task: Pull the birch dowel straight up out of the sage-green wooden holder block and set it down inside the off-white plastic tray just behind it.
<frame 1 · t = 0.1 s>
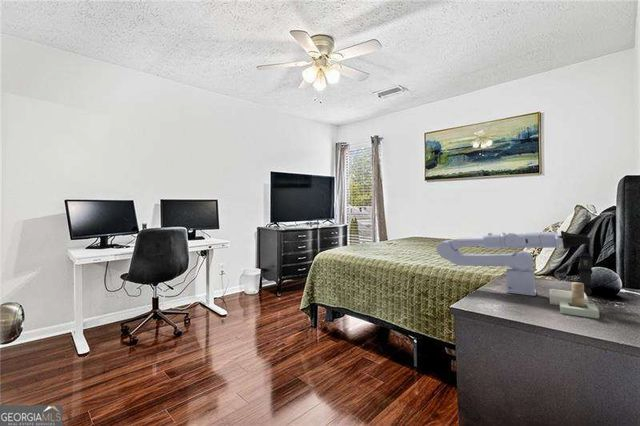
hand: (587, 239, 108), 22 cm above the nightstand, tool horizontal, fingers open, 7 cm apart
dowel: (577, 297, 97), in the holder
holder: (577, 311, 97), on the nightstand
magazine: (586, 291, 121), on the nightstand
tray: (567, 302, 107), on the nightstand
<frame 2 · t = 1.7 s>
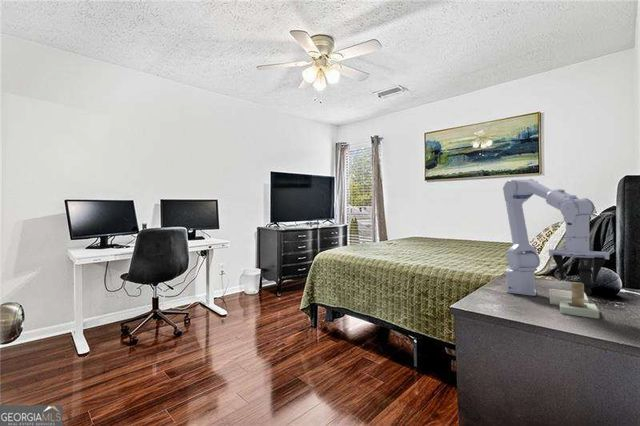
hand: (577, 280, 97), 10 cm above the nightstand, tool pointing down, fingers open, 7 cm apart
nothing on the nightstand moved.
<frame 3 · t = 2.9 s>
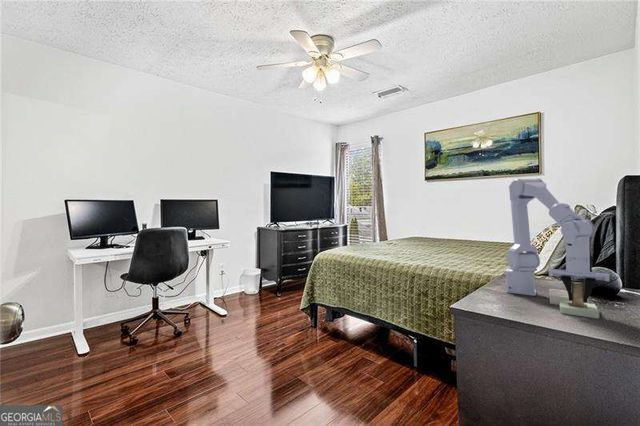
hand: (577, 300, 97), 3 cm above the nightstand, tool pointing down, fingers closed on dowel, 3 cm apart
dowel: (577, 297, 97), in the holder, touching gripper
everything else where it was.
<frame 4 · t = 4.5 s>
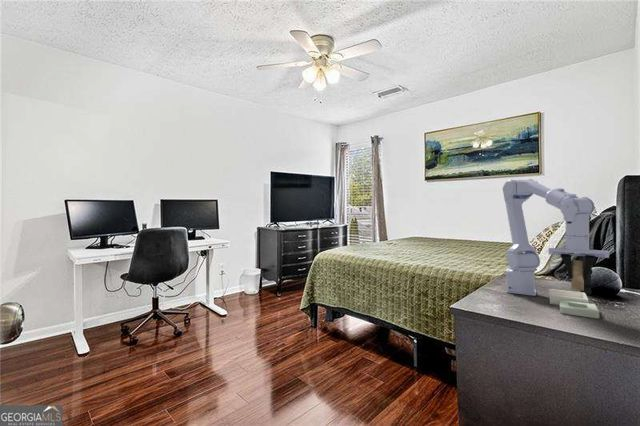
hand: (577, 278, 97), 10 cm above the nightstand, tool pointing down, fingers closed on dowel, 3 cm apart
dowel: (577, 275, 97), point 12 cm above the nightstand, touching gripper
everything else where it was.
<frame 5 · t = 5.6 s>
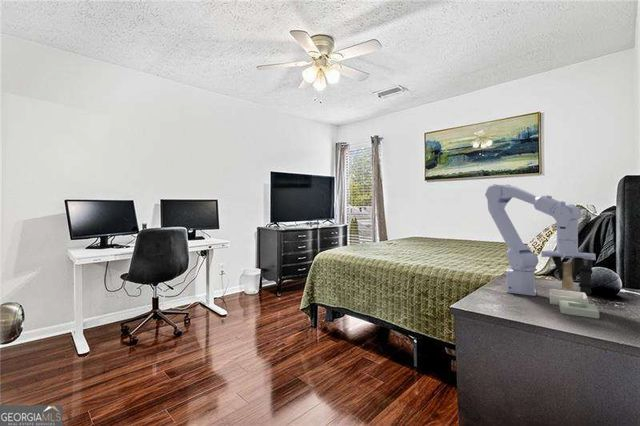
hand: (567, 279, 106), 8 cm above the nightstand, tool pointing down, fingers closed on dowel, 3 cm apart
dowel: (567, 275, 106), point 9 cm above the nightstand, touching gripper
everything else where it was.
when the fingers open (5 cm above the nightstand, at t = 6.4 s): dowel drops 1 cm, resting on tray.
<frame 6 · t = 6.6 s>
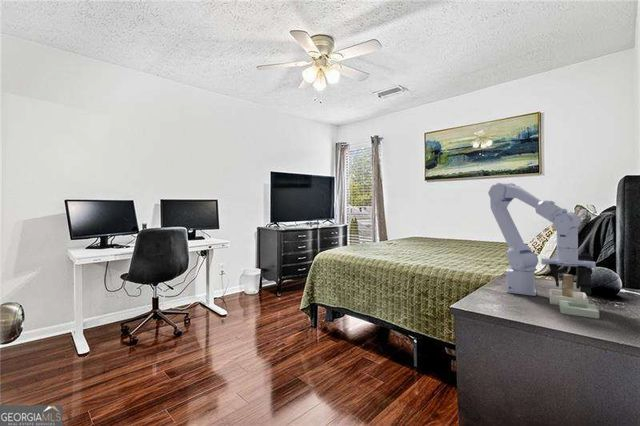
hand: (567, 287, 106), 5 cm above the nightstand, tool pointing down, fingers open, 5 cm apart
dowel: (567, 288, 106), in the tray
everything else where it was.
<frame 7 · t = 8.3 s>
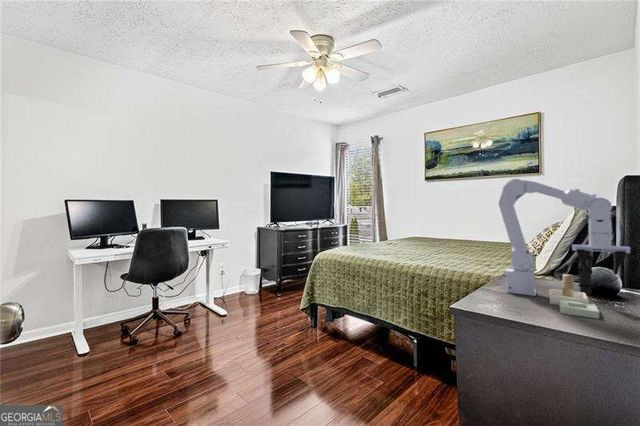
hand: (600, 272, 105), 10 cm above the nightstand, tool pointing down, fingers open, 7 cm apart
nothing on the nightstand moved.
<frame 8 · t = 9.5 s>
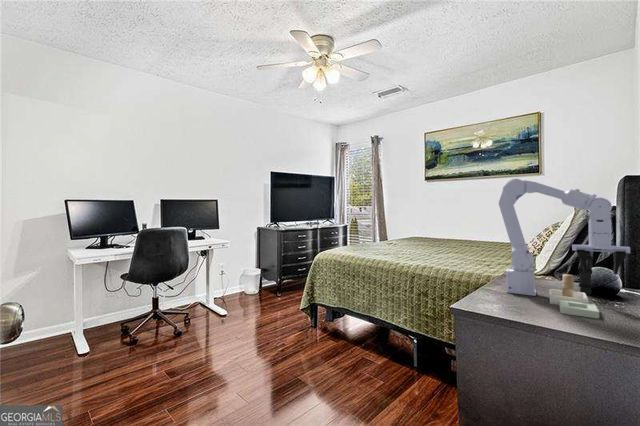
hand: (600, 272, 105), 10 cm above the nightstand, tool pointing down, fingers open, 7 cm apart
nothing on the nightstand moved.
at the end: dowel inside the target area on the tray (0.0 cm from its centre), point 5.0 cm above the tray's base; dowel touching tray; the gripper is holding nothing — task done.
